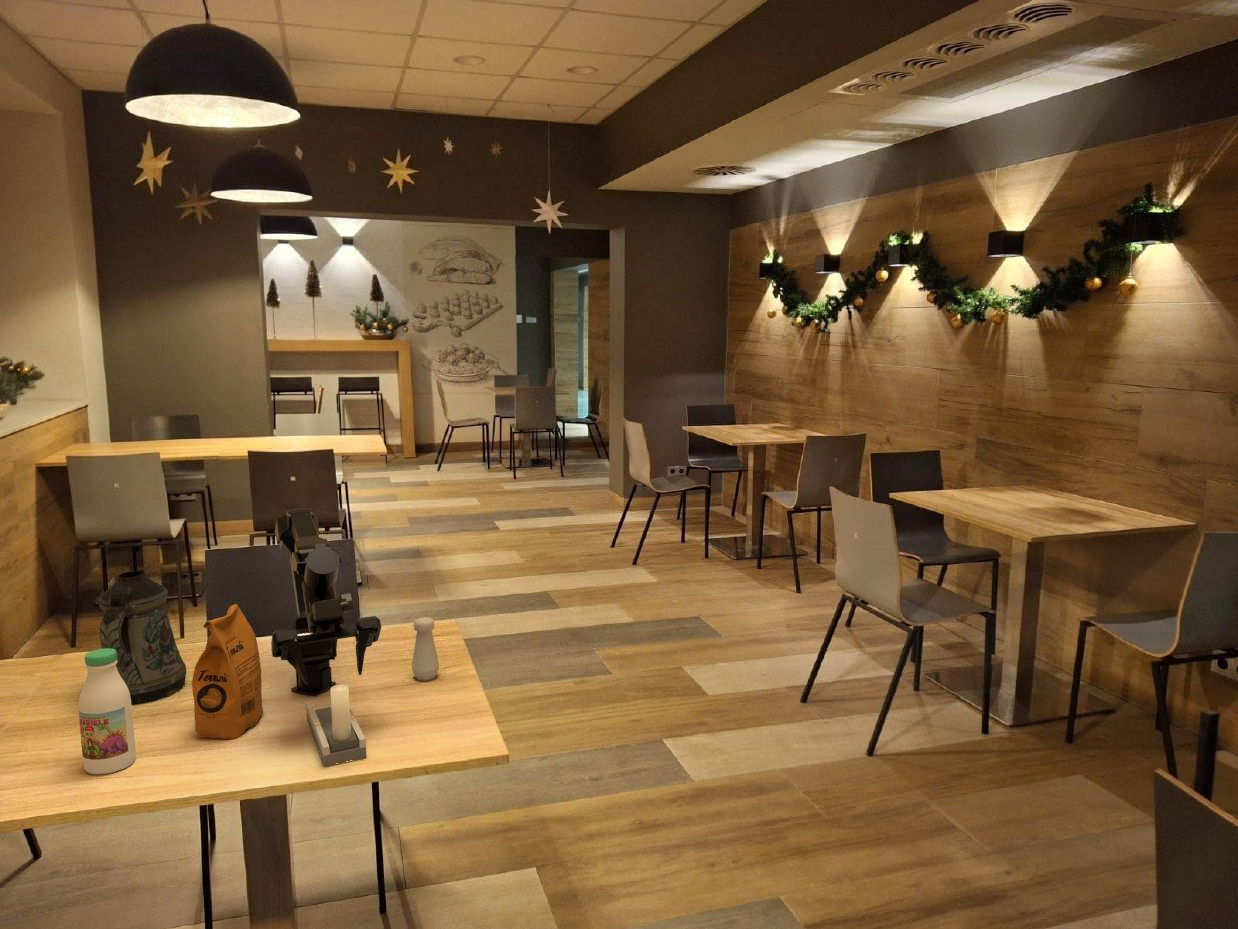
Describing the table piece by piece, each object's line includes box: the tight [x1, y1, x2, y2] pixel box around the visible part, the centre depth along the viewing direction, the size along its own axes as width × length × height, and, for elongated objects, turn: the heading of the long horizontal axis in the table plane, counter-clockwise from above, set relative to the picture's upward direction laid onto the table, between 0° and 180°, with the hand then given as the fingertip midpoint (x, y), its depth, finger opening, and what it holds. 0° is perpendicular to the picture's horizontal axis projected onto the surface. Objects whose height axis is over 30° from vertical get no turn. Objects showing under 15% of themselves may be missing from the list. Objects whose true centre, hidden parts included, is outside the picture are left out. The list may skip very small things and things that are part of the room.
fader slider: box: [327, 684, 358, 752], centre depth 148 cm, size 4×4×10 cm
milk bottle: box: [78, 648, 137, 775], centre depth 144 cm, size 8×8×20 cm
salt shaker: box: [411, 616, 440, 682], centre depth 183 cm, size 6×6×13 cm
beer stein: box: [97, 570, 187, 706], centre depth 174 cm, size 16×19×25 cm
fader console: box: [305, 702, 367, 768], centre depth 155 cm, size 20×7×4 cm, turn 28°
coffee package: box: [191, 604, 264, 740], centre depth 159 cm, size 10×12×22 cm
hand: (334, 678), depth 152 cm, fingers open, 9 cm apart
